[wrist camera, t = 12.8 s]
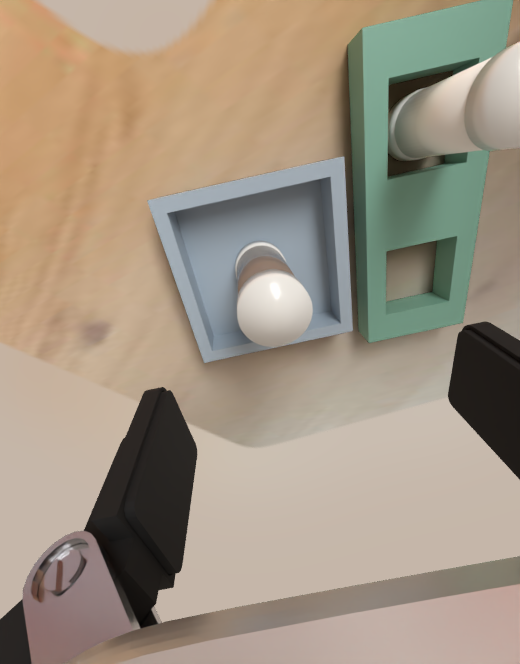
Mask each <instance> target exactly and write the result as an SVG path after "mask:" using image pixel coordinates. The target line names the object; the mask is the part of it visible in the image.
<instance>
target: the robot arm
mask: <svg viewBox="0 0 520 664" xmlns="http://www.w3.org/2000/svg"><path fill="white" fill-rule="evenodd" d="M448 398H449V401H450V403H451V405H452V406H453V407H454V408H455V410H456V411H457V412H458V413H459V414H460V415H461V416H462V417H463V418H464V419H465V420H466V421H467V423H468V424H469V425H470V426H471V427H472V428H473V429H474V430H475V431H476V432H477V434H479V436H480V437H481V438H482V439H483V440H484V441H485V442H486V443H487V444H488V446H489V447H491V449H492V450H493V451H494V452H495V453H496V454H497V455H498V456H499V457H500V459H501V460H502V461H503V462H504V463H505V464H506V465H507V466H508V467H509V468H510V469H511V470H512V472H513V473H514V474H515V475H516V476H517V477H518V478H519V479H520V341H519V340H518V339H516V338H514V337H513V336H511V335H509V334H508V333H506V332H504V331H503V330H501V329H499V328H498V327H496V326H494V325H493V324H491V323H489V322H481V323H476V324H471V325H467V326H465V327H464V328H463V329H462V331H461V332H459V334H458V337H457V344H456V350H455V356H454V362H453V368H452V374H451V380H450V386H449V392H448ZM196 460H197V448H196V444H195V442H194V439H193V437H192V435H191V433H190V431H189V429H188V426H187V424H186V422H185V420H184V417H183V415H182V413H181V411H180V408H179V406H178V404H177V402H176V400H175V397H174V395H173V393H172V392H171V391H170V390H169V391H166V389H165V388H164V387H161V388H156V389H151V390H147V391H145V392H144V394H143V396H142V398H141V401H140V403H139V406H138V408H137V411H136V413H135V415H134V418H133V420H132V423H131V425H130V427H129V431H128V432H127V435H126V437H125V438H124V439H123V440H122V442H121V444H120V447H119V449H118V451H117V453H116V456H115V458H114V460H113V463H112V465H111V468H110V470H109V472H108V475H107V477H106V479H105V482H104V484H103V487H102V489H101V491H100V494H99V496H98V498H97V501H96V503H95V506H94V508H93V510H92V513H91V515H90V517H89V520H88V522H87V525H86V527H85V529H84V531H77V532H73V533H71V534H68V535H66V536H64V537H62V538H61V539H59V540H58V541H56V542H55V543H54V544H53V545H51V546H50V547H49V548H48V549H47V550H46V551H45V552H44V553H43V554H42V556H41V557H40V558H39V559H38V561H37V562H36V563H35V564H34V566H33V568H32V570H31V571H30V573H29V575H28V577H27V579H26V582H25V585H24V588H23V599H22V600H21V601H20V602H19V603H18V604H17V605H16V606H14V607H13V608H12V609H11V610H10V611H9V612H8V613H7V614H6V615H5V616H4V617H3V618H1V619H0V664H520V557H513V558H507V559H502V560H496V561H490V562H485V563H479V564H473V565H467V566H462V567H456V568H451V569H445V570H439V571H433V572H428V573H423V574H417V575H411V576H405V577H400V578H395V579H389V580H383V581H377V582H372V583H366V584H361V585H355V586H349V587H344V588H338V589H333V590H328V591H323V592H317V593H311V594H306V595H301V596H295V597H289V598H284V599H278V600H274V601H268V602H262V603H257V604H251V605H246V606H241V607H235V608H231V609H225V610H221V611H216V612H211V613H206V614H201V615H197V616H192V617H187V618H182V619H177V620H172V621H167V622H164V623H162V622H161V620H160V618H159V616H158V614H157V611H156V610H155V607H154V605H155V604H156V600H157V595H158V590H162V589H167V588H173V587H174V580H175V573H179V572H180V571H181V568H182V563H183V555H184V548H185V541H186V534H187V526H188V519H189V511H190V504H191V496H192V489H193V482H194V475H195V474H194V473H195V467H196Z"/></svg>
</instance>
